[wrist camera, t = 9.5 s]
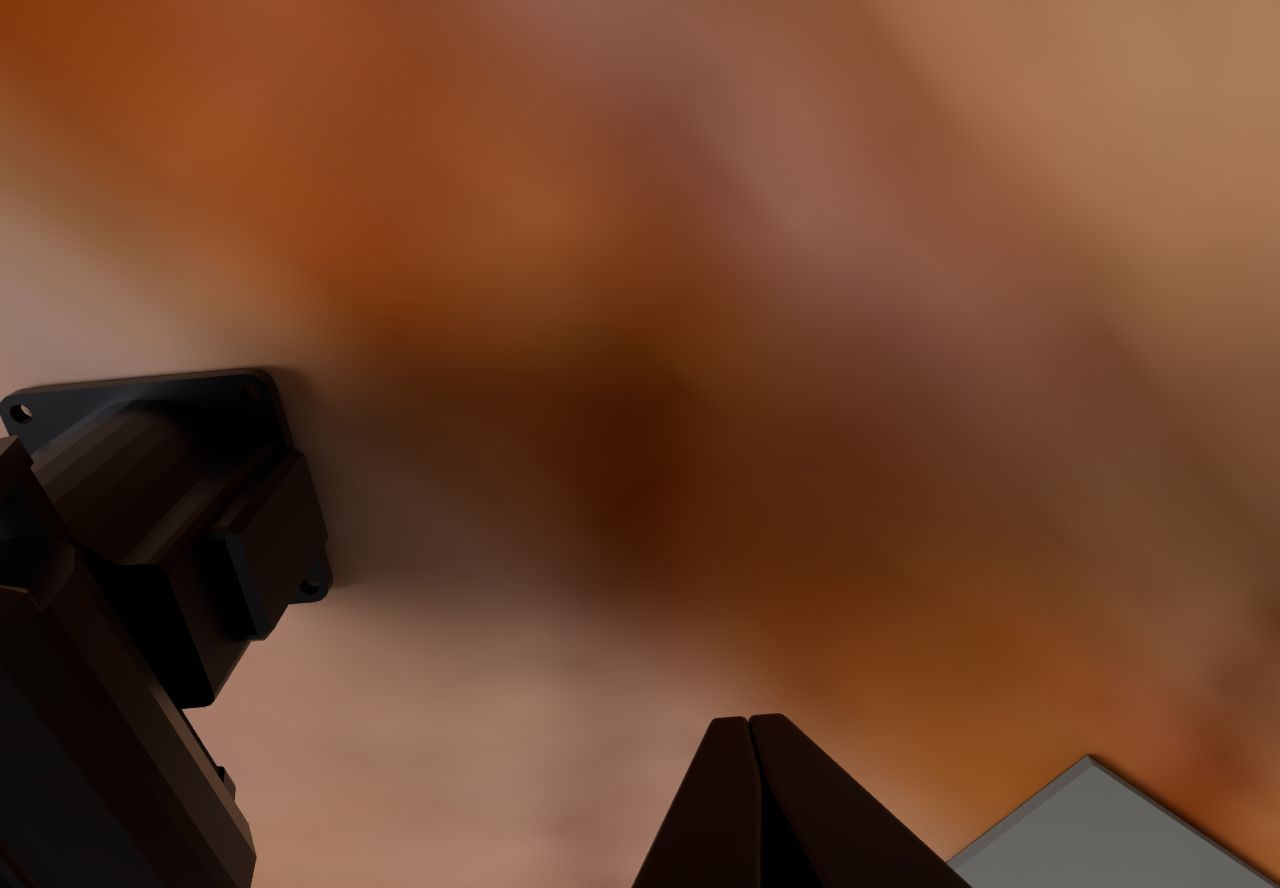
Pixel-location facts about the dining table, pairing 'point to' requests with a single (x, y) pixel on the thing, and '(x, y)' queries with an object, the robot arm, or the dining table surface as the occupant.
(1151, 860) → the mat
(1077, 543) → the dining table surface
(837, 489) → the dining table surface
